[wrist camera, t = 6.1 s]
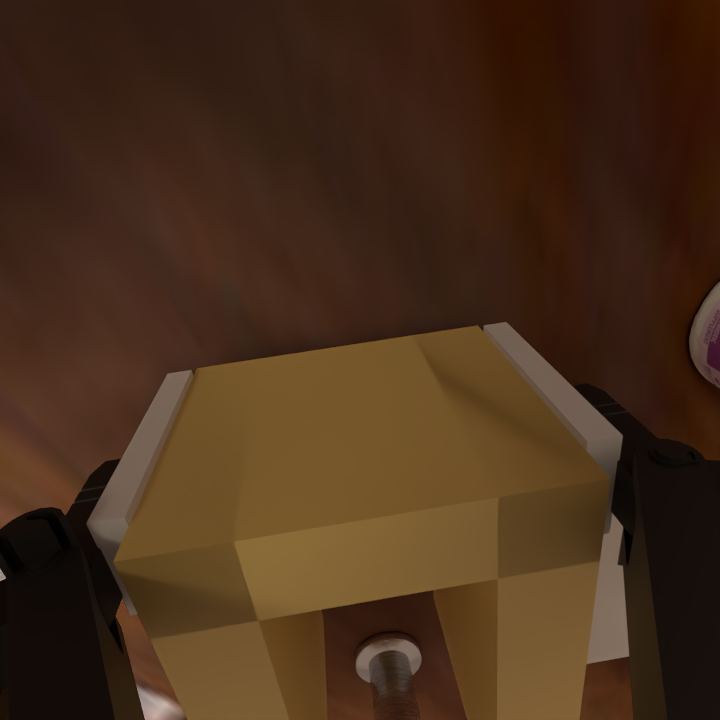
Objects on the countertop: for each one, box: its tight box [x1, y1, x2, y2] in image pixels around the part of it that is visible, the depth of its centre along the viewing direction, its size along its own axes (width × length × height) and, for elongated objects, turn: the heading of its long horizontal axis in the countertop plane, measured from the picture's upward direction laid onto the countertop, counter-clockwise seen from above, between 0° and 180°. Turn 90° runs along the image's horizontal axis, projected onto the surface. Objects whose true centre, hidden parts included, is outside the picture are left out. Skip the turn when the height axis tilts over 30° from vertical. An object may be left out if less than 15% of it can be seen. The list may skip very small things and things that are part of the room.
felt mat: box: [587, 513, 629, 664], centre depth 24 cm, size 11×14×1 cm
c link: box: [113, 325, 611, 720], centre depth 16 cm, size 13×9×8 cm
